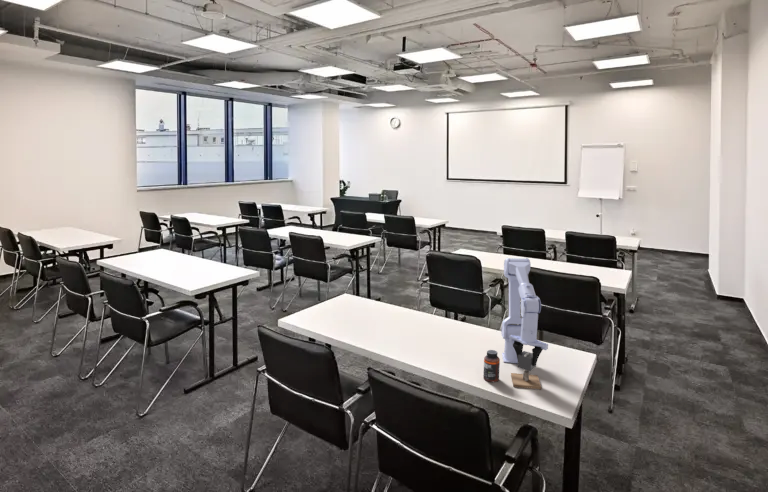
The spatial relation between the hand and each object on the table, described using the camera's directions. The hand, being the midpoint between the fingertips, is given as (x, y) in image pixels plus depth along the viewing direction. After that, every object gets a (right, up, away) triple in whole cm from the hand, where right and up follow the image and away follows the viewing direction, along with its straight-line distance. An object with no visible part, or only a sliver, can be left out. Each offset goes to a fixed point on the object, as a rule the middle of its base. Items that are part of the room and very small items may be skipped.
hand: (526, 362), depth 179 cm
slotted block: (0, -2, 0) cm, 2 cm away
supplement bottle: (-13, -7, +4) cm, 15 cm away
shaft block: (0, -8, +1) cm, 8 cm away
